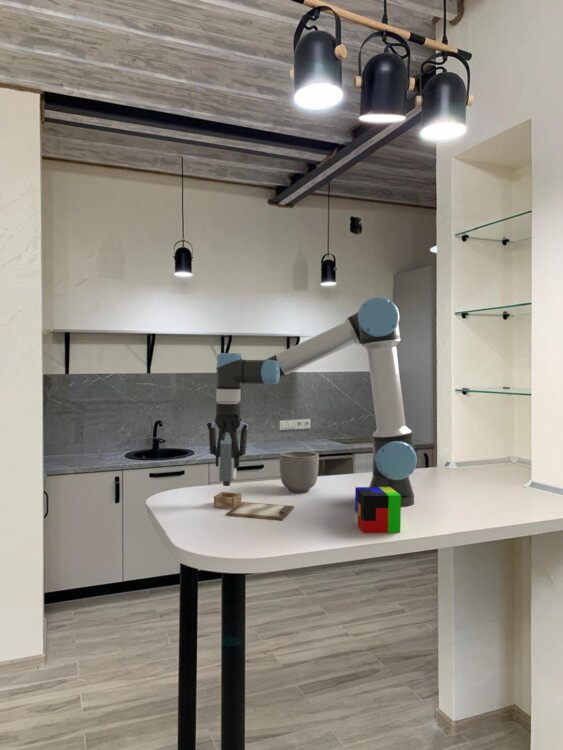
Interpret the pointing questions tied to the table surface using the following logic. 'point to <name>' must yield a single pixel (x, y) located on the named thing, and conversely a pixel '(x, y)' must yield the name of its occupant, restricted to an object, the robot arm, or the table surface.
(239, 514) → the clipboard
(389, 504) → the puzzle toy
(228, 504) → the holder
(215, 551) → the table surface
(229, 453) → the blue-grey tall block
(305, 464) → the planter
